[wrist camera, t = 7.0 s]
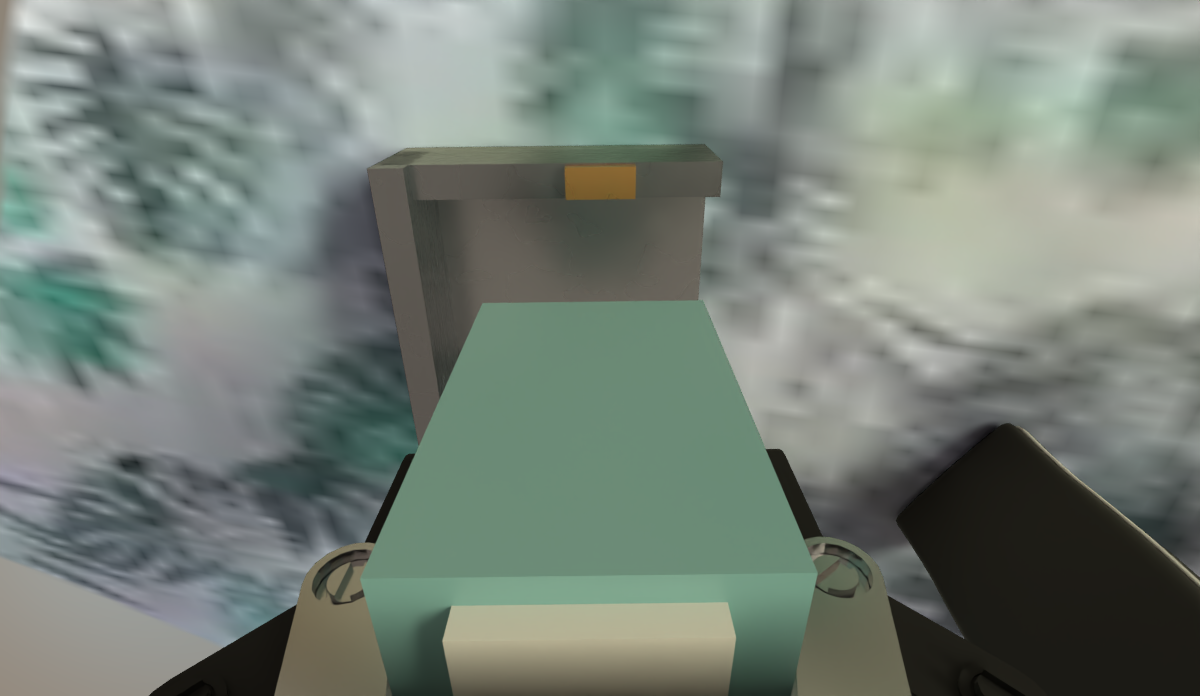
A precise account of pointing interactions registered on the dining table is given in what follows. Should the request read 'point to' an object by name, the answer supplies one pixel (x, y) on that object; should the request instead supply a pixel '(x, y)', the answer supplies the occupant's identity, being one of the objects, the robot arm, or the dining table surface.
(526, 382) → the block
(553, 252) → the tray
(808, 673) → the robot arm
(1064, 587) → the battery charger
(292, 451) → the dining table surface
